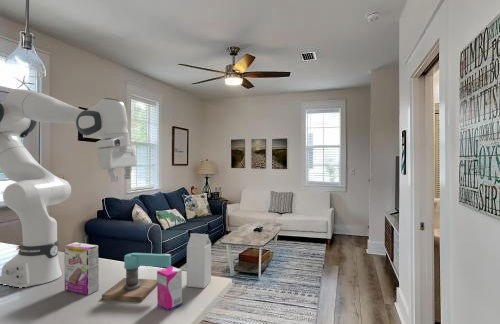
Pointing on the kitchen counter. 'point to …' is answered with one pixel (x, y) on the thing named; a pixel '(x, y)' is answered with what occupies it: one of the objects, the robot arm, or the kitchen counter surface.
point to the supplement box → (169, 288)
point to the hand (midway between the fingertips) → (121, 180)
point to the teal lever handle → (146, 260)
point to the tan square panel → (130, 288)
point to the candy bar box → (81, 268)
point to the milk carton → (198, 261)
